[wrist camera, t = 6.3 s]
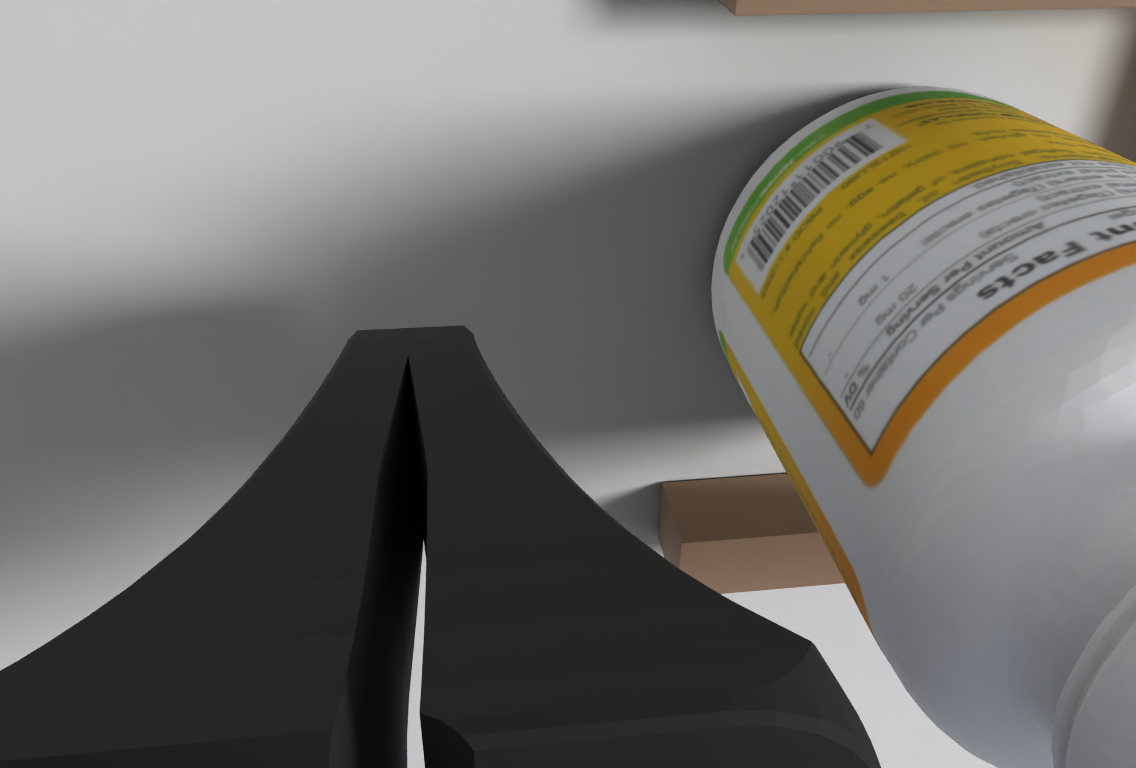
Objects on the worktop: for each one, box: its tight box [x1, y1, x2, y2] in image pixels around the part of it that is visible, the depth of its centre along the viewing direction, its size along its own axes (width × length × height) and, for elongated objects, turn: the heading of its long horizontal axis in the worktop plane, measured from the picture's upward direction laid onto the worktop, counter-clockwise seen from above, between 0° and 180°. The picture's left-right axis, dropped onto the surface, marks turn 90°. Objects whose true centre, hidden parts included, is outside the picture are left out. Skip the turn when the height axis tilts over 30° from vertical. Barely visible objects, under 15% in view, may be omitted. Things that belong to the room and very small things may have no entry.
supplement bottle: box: [711, 87, 1136, 768], centre depth 10 cm, size 5×5×10 cm
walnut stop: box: [658, 0, 1136, 594], centre depth 14 cm, size 10×8×2 cm
